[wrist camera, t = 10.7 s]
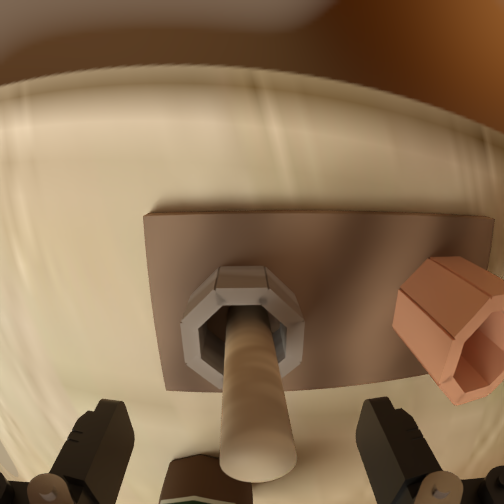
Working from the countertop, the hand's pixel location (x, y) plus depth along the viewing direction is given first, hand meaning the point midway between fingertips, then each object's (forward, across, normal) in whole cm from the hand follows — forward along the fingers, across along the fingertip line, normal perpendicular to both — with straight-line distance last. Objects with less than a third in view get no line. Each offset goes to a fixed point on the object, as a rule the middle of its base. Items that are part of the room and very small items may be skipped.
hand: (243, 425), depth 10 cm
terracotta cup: (+8, -12, 0) cm, 15 cm away
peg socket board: (+9, -6, 0) cm, 11 cm away
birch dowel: (+8, 0, 0) cm, 8 cm away
